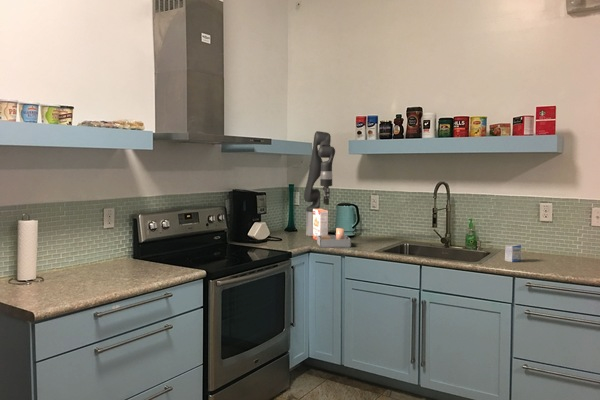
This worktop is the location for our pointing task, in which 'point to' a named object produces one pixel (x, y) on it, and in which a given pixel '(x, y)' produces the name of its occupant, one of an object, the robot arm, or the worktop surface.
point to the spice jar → (339, 233)
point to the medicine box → (513, 253)
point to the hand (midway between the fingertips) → (326, 204)
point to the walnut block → (325, 237)
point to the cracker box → (320, 223)
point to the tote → (334, 242)
